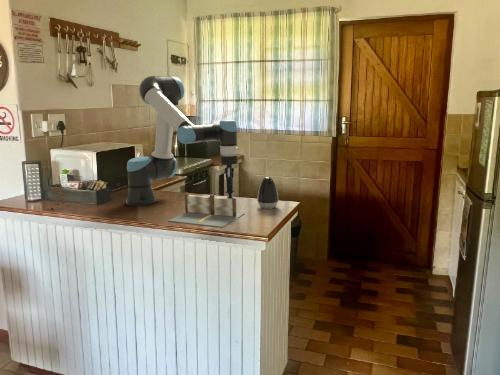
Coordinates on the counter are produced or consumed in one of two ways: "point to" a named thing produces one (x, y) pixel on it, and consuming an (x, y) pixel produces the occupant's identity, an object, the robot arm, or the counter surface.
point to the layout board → (205, 219)
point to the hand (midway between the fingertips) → (230, 206)
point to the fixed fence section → (199, 204)
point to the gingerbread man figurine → (59, 194)
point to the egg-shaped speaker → (267, 194)
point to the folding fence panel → (225, 206)
